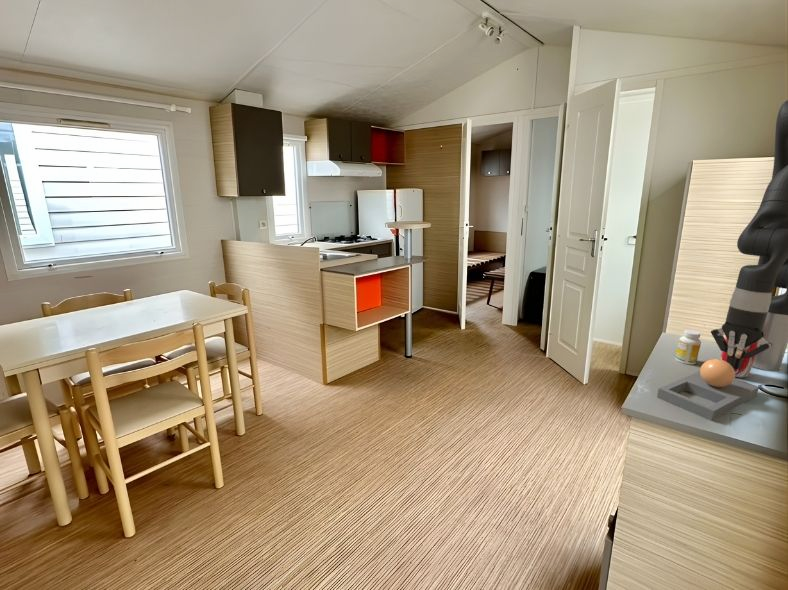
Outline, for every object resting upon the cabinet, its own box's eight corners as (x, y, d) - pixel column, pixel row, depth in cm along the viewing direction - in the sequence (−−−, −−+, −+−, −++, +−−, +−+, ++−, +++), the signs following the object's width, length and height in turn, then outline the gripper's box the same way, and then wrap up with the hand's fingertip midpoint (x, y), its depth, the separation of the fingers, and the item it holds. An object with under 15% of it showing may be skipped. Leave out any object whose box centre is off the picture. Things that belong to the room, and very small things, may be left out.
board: (703, 376, 114) (705, 368, 114) (756, 395, 104) (759, 387, 104) (656, 397, 103) (658, 388, 102) (711, 420, 93) (713, 411, 92)
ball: (705, 376, 109) (711, 352, 107) (736, 388, 103) (743, 362, 101) (692, 382, 105) (697, 357, 103) (723, 394, 99) (730, 368, 97)
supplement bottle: (675, 362, 123) (681, 332, 121) (674, 356, 128) (680, 327, 125) (696, 366, 121) (703, 336, 118) (695, 360, 125) (702, 331, 122)
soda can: (754, 380, 113) (766, 340, 109) (725, 377, 114) (736, 337, 111) (739, 369, 119) (749, 331, 116) (712, 367, 121) (721, 329, 117)
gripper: (788, 312, 99) (769, 376, 104) (725, 298, 110) (710, 357, 115) (776, 316, 96) (756, 382, 100) (711, 301, 107) (696, 362, 111)
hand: (731, 369), depth 107 cm, fingers closed
